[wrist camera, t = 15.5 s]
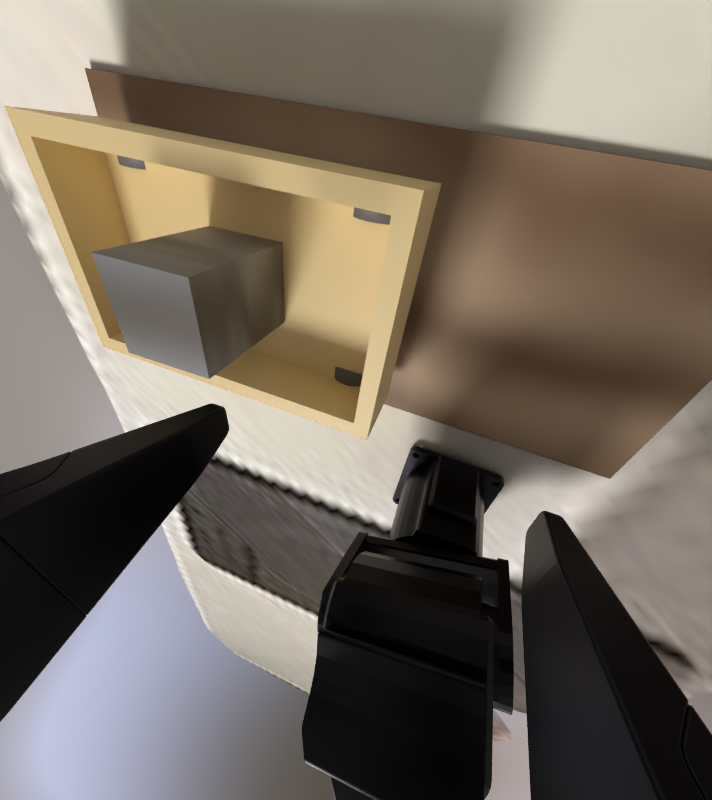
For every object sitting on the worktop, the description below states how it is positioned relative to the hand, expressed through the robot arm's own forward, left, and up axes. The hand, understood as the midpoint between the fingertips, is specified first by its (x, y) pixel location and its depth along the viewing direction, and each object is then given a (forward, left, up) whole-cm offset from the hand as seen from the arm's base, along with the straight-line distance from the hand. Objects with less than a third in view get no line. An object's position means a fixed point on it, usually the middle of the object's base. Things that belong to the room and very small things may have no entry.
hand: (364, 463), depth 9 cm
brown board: (+1, +3, -11) cm, 12 cm away
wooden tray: (+1, +9, -11) cm, 14 cm away
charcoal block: (+1, +9, -8) cm, 13 cm away
